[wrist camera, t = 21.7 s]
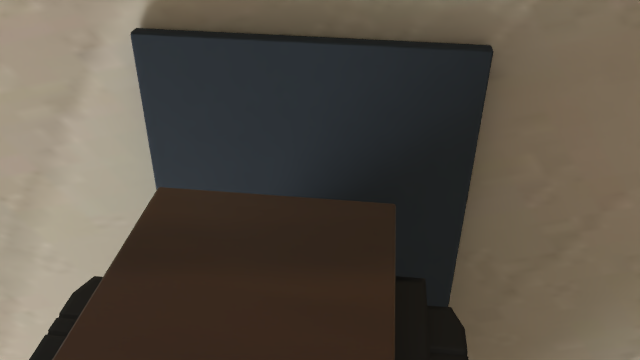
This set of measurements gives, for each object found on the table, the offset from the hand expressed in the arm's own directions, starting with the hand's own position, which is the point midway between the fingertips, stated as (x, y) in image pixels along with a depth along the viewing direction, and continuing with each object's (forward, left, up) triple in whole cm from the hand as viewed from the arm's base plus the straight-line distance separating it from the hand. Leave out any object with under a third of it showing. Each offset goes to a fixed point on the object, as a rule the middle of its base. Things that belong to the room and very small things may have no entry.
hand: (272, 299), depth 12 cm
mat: (+6, 0, -6) cm, 9 cm away
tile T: (0, 0, -1) cm, 1 cm away
